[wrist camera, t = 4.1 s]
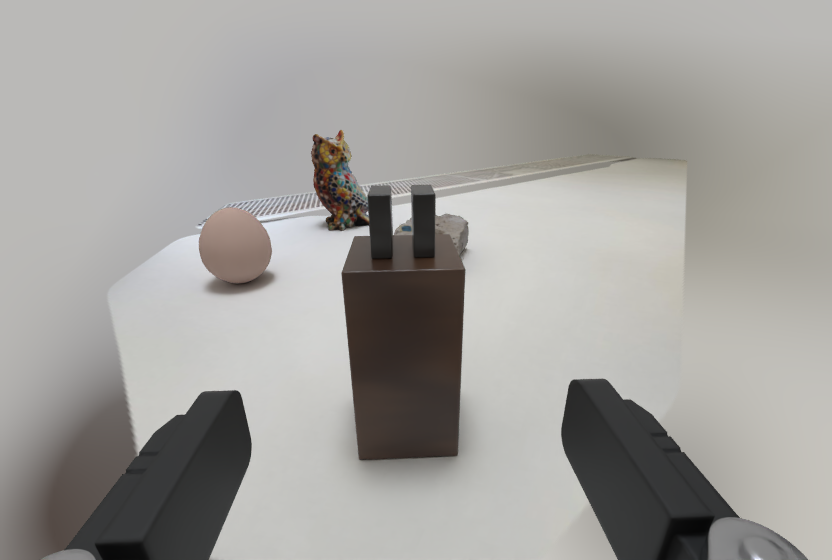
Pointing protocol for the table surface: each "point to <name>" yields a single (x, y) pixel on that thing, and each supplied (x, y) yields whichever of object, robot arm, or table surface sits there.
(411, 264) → the knife block
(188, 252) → the table surface
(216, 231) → the egg
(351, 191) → the figurine
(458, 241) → the stone
